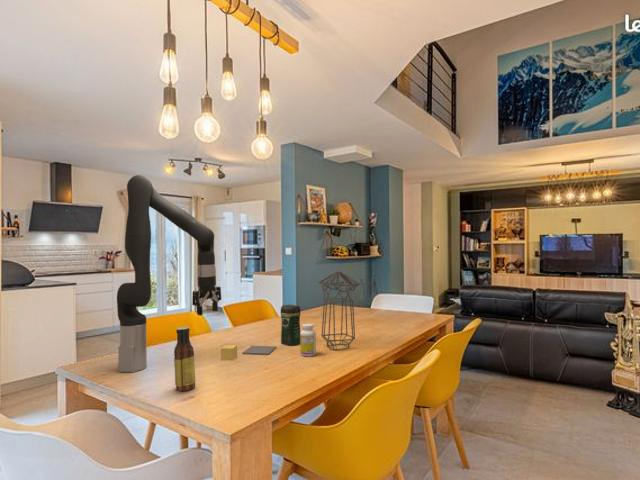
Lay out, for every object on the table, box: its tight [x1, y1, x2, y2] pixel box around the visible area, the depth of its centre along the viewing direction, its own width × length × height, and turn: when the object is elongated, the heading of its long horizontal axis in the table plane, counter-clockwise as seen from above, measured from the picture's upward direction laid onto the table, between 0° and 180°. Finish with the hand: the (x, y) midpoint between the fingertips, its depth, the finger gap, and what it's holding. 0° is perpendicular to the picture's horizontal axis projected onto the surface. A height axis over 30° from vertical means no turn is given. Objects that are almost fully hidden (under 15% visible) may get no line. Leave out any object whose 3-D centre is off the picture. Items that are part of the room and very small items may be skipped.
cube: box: [220, 344, 238, 362], centre depth 156 cm, size 5×5×5 cm
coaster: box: [241, 345, 277, 356], centre depth 167 cm, size 12×12×1 cm
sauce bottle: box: [173, 326, 196, 392], centre depth 123 cm, size 7×6×20 cm
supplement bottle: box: [299, 323, 317, 358], centre depth 160 cm, size 7×7×13 cm
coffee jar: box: [280, 304, 302, 346], centre depth 180 cm, size 10×8×19 cm
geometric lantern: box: [317, 270, 360, 351], centre depth 172 cm, size 16×16×35 cm
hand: (207, 313), depth 158 cm, fingers open, 8 cm apart
